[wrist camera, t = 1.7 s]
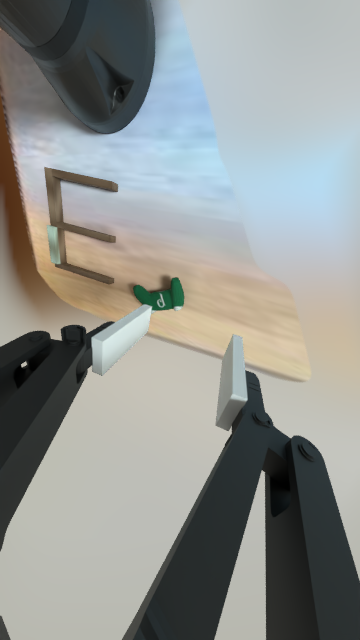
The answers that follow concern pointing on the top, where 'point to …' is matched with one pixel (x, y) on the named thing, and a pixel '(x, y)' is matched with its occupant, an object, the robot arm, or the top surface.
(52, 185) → the letter e shape
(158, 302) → the gaming controller
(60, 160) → the top surface
